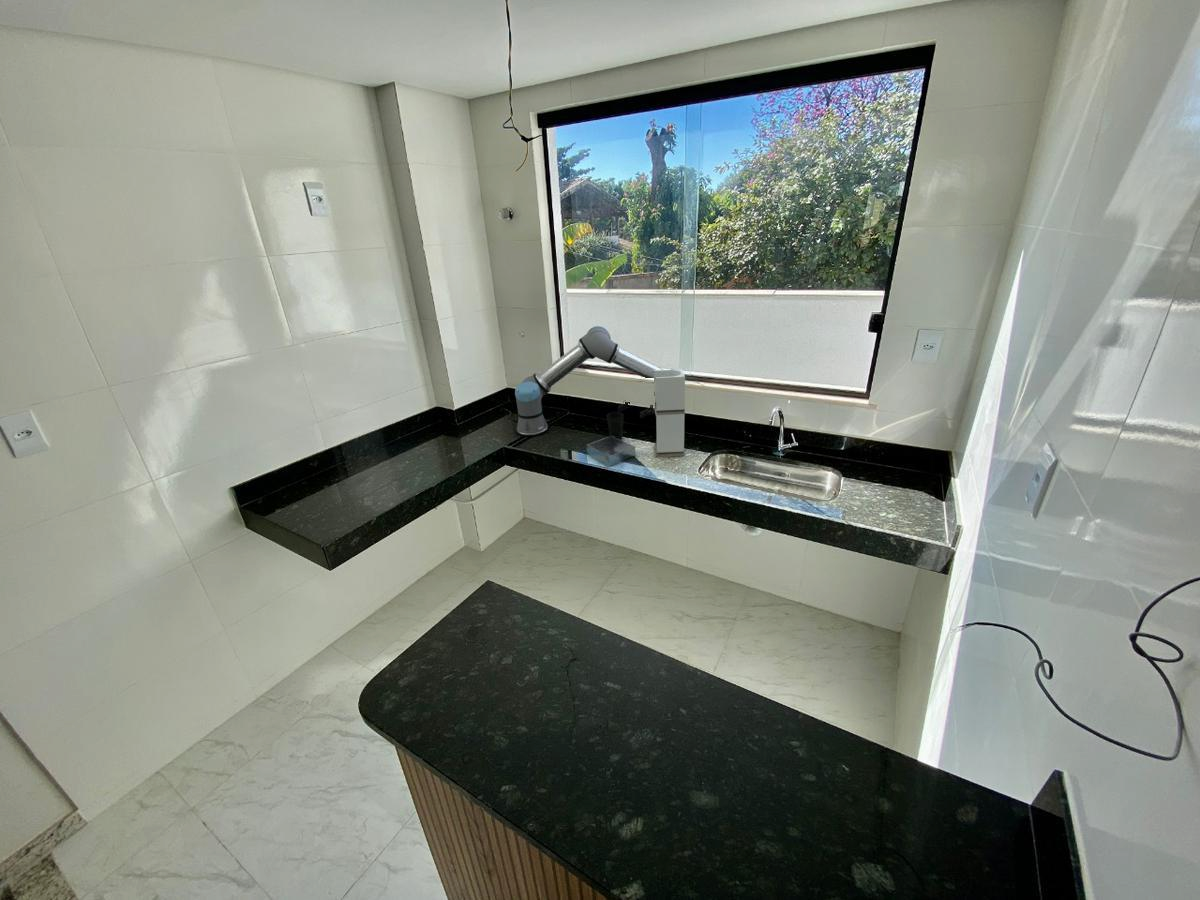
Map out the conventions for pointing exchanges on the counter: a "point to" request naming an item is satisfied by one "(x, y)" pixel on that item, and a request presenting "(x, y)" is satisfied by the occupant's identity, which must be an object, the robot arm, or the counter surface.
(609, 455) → the translucent shallow box
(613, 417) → the cup
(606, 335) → the robot arm
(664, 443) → the grey square pillar
